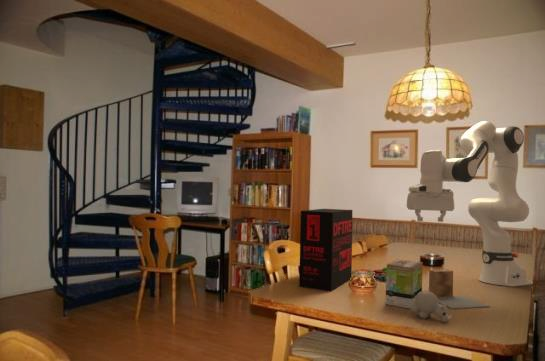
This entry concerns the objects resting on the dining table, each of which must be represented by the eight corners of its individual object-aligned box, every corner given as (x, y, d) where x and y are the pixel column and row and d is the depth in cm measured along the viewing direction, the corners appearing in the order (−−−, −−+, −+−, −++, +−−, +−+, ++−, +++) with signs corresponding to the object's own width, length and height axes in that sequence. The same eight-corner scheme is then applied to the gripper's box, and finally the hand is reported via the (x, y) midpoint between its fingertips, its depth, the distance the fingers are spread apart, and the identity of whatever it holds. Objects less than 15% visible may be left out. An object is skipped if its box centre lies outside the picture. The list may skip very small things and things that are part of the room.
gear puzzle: (388, 269, 213) (389, 262, 213) (419, 274, 203) (419, 266, 203) (359, 278, 190) (359, 270, 190) (391, 284, 179) (391, 275, 179)
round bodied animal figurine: (439, 333, 125) (450, 310, 123) (406, 310, 133) (415, 288, 131) (449, 327, 130) (459, 305, 128) (416, 305, 138) (425, 284, 136)
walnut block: (446, 293, 163) (446, 269, 164) (452, 296, 159) (453, 271, 160) (428, 294, 161) (429, 269, 162) (435, 297, 158) (435, 271, 158)
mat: (463, 296, 159) (463, 295, 159) (490, 307, 146) (490, 305, 146) (427, 298, 156) (427, 297, 156) (451, 309, 142) (451, 308, 142)
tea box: (413, 309, 141) (413, 267, 141) (384, 304, 146) (385, 263, 146) (422, 300, 154) (423, 261, 154) (395, 295, 159) (396, 258, 159)
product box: (331, 291, 163) (332, 212, 164) (299, 286, 170) (300, 210, 171) (351, 279, 187) (352, 209, 187) (322, 275, 193) (323, 208, 194)
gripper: (448, 189, 174) (447, 221, 174) (405, 187, 170) (404, 220, 170) (458, 189, 168) (457, 222, 167) (413, 187, 164) (412, 221, 163)
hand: (430, 221), depth 168 cm, fingers open, 8 cm apart
